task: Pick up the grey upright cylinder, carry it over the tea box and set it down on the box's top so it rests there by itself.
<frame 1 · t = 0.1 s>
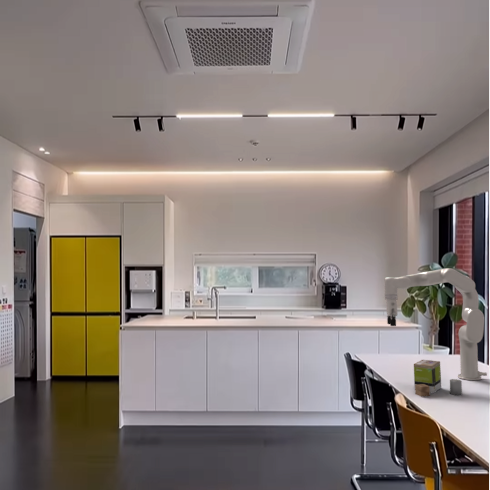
hand: (391, 325, 284), 31 cm above the table, fingers open, 9 cm apart
tea box: (428, 389, 251), on the table
walnut block: (422, 395, 240), on the table
grey upright cylinder: (456, 394, 241), on the table
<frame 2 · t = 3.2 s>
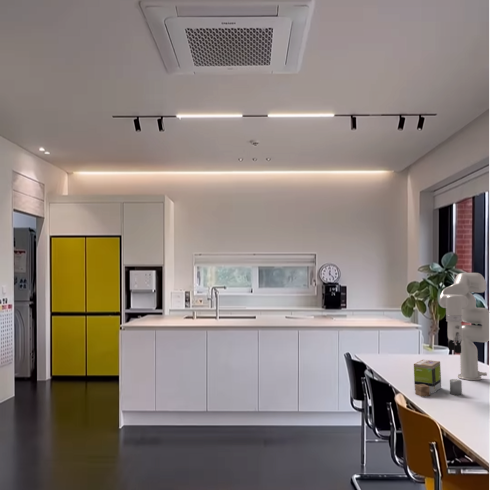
hand: (454, 351, 242), 22 cm above the table, fingers open, 9 cm apart
nothing on the table moved.
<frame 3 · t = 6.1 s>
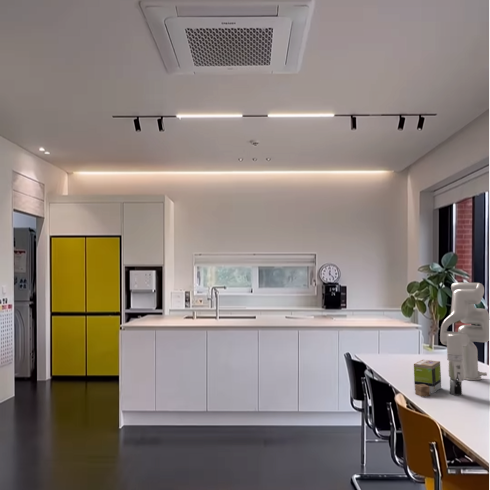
hand: (455, 392, 242), 1 cm above the table, fingers closed on grey upright cylinder, 5 cm apart
grey upright cylinder: (455, 393, 241), on the table, touching gripper
everything else where it was.
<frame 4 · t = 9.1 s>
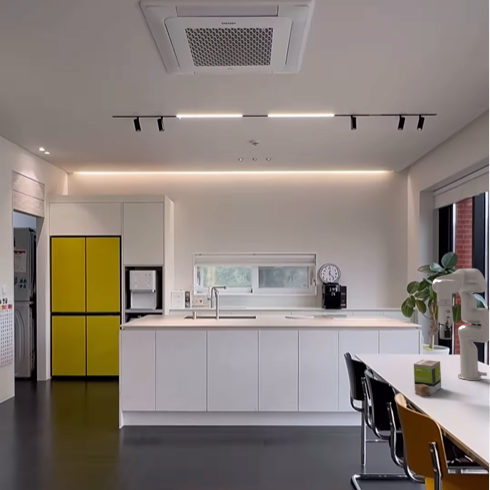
hand: (445, 336, 246), 29 cm above the table, fingers closed on grey upright cylinder, 5 cm apart
grey upright cylinder: (445, 338, 246), point 28 cm above the table, touching gripper
everything else where it was.
when the fingers open (17 cm above the table, at t = 12.3 s): grey upright cylinder drops 2 cm, resting on tea box.
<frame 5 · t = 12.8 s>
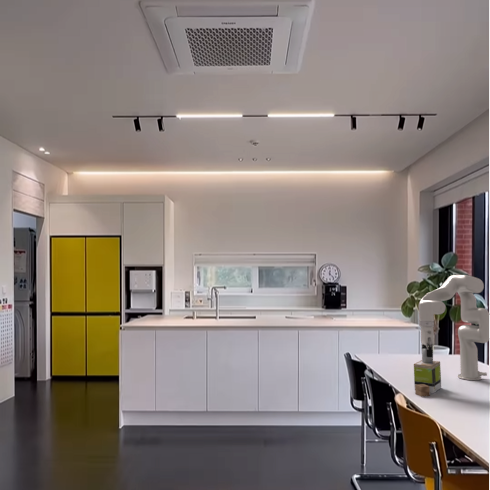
hand: (427, 355, 252), 18 cm above the table, fingers open, 9 cm apart
tea box: (428, 389, 251), on the table, touching grey upright cylinder
grey upright cylinder: (427, 362, 252), point 15 cm above the table, touching tea box
everything else where it was.
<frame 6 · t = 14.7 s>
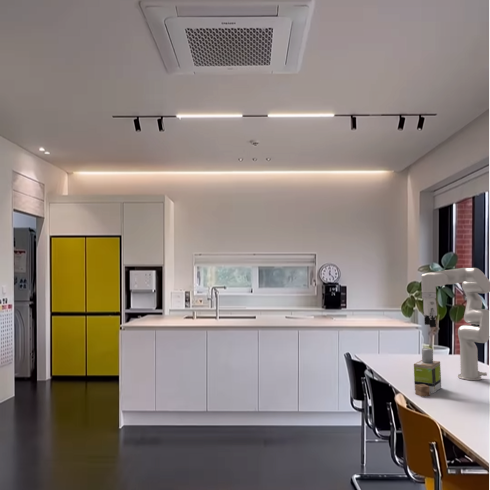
hand: (430, 325, 260), 34 cm above the table, fingers open, 9 cm apart
nothing on the table moved.
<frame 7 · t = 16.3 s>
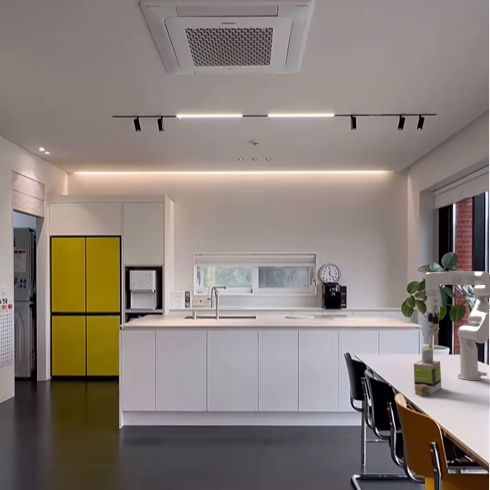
hand: (433, 322, 268), 34 cm above the table, fingers open, 9 cm apart
nothing on the table moved.
at the end: grey upright cylinder inside the target area on the tea box (0.1 cm from its centre), point 15.0 cm above the tea box's base; grey upright cylinder tilted 0°; grey upright cylinder touching tea box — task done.
